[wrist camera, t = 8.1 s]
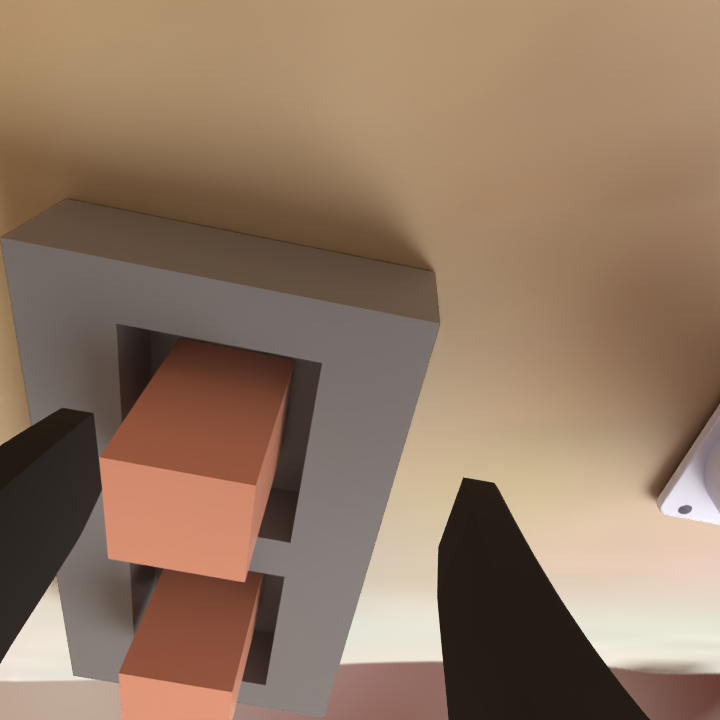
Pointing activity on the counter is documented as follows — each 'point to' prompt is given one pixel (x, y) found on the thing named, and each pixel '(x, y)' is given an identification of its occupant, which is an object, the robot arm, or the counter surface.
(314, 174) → the counter surface
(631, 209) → the counter surface
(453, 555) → the robot arm
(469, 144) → the counter surface
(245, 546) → the plug
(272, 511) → the dock
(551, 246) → the counter surface
